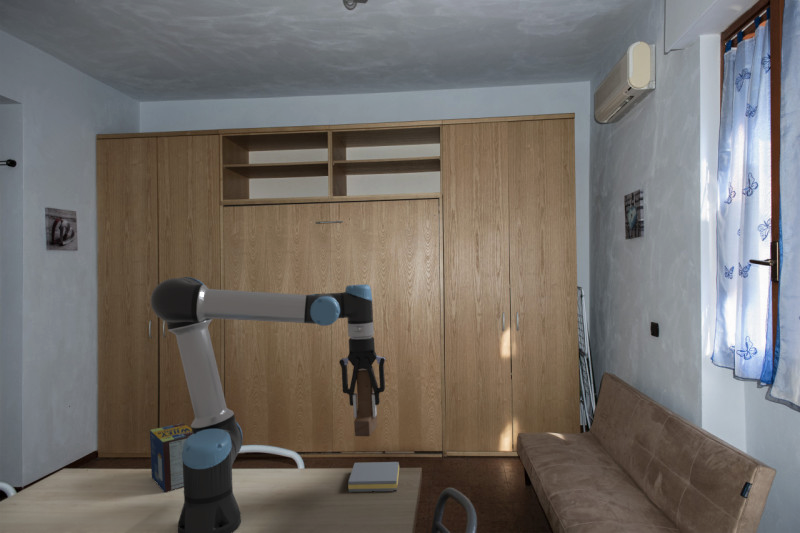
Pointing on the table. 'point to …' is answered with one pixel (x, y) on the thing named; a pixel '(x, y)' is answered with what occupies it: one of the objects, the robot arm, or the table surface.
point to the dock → (374, 477)
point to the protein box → (168, 455)
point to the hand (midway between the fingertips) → (365, 415)
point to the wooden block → (364, 405)
